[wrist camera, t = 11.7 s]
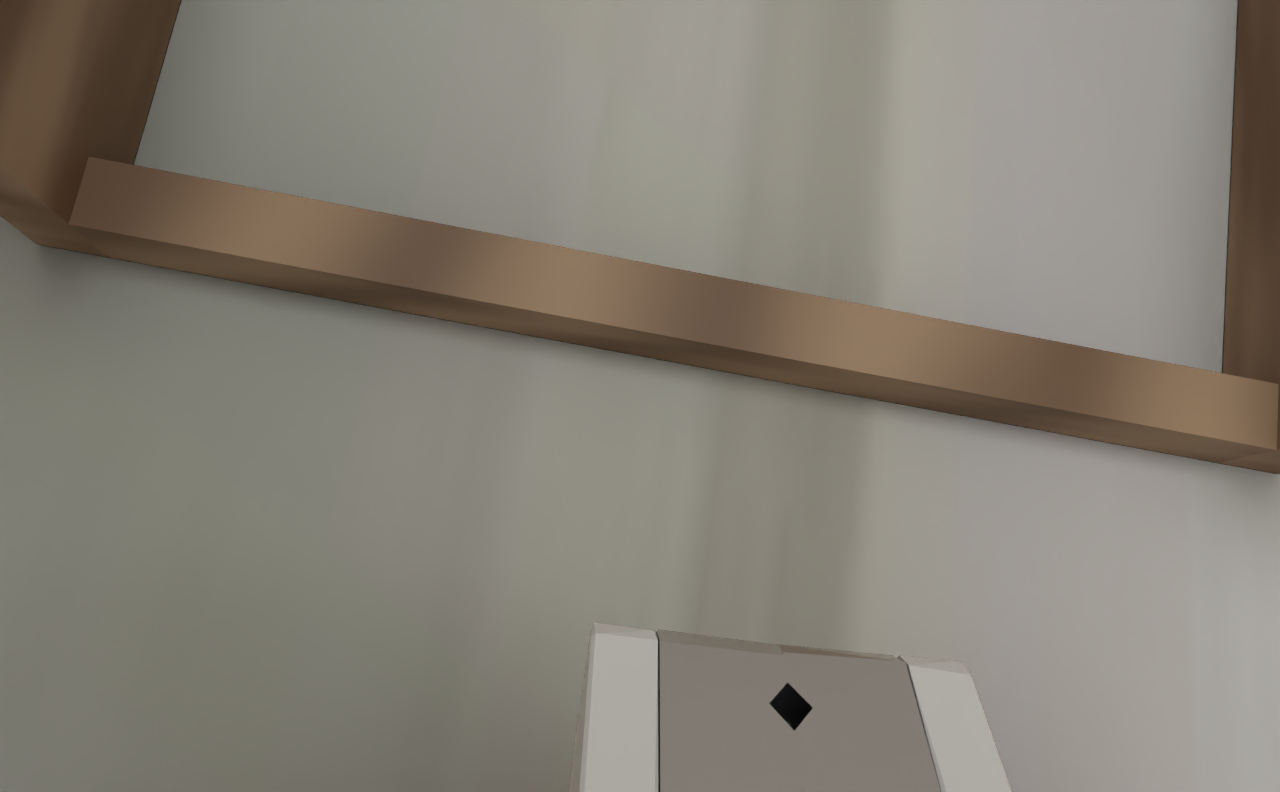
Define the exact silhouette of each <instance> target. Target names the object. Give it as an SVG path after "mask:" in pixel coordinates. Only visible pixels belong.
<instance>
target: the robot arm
mask: <svg viewBox="0 0 1280 792" xmlns="http://www.w3.org/2000/svg"><path fill="white" fill-rule="evenodd" d="M569 792H1012V790H1011V787H1010V784H1009V782H1008V779H1007V776H1006V773H1005V770H1004V767H1003V764H1002V761H1001V759H1000V756H999V753H998V750H997V747H996V744H995V741H994V738H993V736H992V733H991V730H990V727H989V724H988V721H987V718H986V715H985V713H984V710H983V707H982V704H981V701H980V698H979V695H978V692H977V690H976V687H975V684H974V681H973V678H972V675H971V672H970V671H969V669H968V668H967V667H966V666H965V665H964V664H963V663H962V662H961V661H952V660H942V659H931V658H920V657H909V656H899V657H895V656H893V655H882V654H872V653H862V652H851V651H841V650H831V649H820V648H810V647H799V646H789V645H779V644H776V645H774V644H766V643H758V642H751V641H743V640H735V639H728V638H720V637H712V636H704V635H697V634H689V633H681V632H674V631H666V630H657V632H656V634H655V631H653V630H646V629H639V628H631V627H624V626H617V625H609V624H602V623H595V622H594V623H593V627H592V630H591V634H590V641H589V647H588V654H587V661H586V668H585V675H584V682H583V689H582V696H581V703H580V709H579V716H578V724H577V731H576V739H575V747H574V755H573V763H572V770H571V778H570V788H569Z"/></svg>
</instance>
